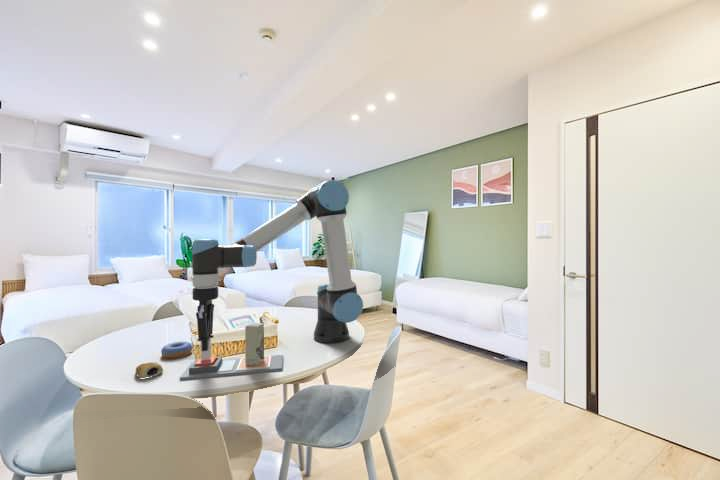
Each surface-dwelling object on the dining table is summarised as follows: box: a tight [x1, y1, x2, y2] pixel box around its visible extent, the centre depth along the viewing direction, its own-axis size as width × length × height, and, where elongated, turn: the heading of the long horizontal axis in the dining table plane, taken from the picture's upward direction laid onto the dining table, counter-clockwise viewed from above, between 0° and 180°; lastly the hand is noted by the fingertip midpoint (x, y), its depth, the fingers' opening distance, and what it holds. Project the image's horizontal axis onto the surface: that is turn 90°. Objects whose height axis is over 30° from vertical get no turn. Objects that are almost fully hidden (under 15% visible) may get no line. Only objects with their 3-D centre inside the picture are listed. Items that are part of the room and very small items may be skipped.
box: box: [244, 322, 265, 366], centre depth 105 cm, size 5×4×13 cm
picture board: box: [179, 354, 284, 381], centre depth 104 cm, size 30×12×3 cm, turn 103°
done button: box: [196, 356, 217, 366], centre depth 102 cm, size 5×5×2 cm
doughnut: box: [160, 341, 193, 360], centre depth 117 cm, size 10×10×5 cm
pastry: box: [135, 361, 164, 378], centre depth 100 cm, size 9×7×4 cm
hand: (205, 359), depth 102 cm, fingers closed
